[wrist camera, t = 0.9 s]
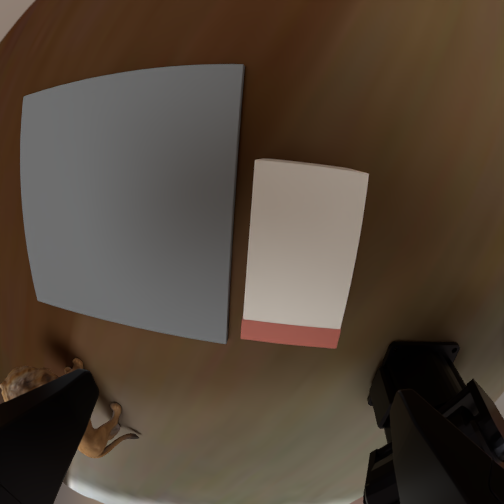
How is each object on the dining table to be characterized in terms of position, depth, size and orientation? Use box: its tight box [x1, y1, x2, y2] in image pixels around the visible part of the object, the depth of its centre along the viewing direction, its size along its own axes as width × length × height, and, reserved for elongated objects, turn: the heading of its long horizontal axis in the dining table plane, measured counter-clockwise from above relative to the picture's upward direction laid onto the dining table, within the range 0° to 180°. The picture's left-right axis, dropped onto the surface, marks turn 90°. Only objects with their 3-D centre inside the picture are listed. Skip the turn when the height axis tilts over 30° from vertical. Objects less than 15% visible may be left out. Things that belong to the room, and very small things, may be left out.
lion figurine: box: [0, 358, 139, 458], centre depth 22 cm, size 15×5×9 cm, turn 37°
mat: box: [20, 64, 245, 344], centre depth 19 cm, size 18×18×1 cm
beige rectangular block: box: [241, 158, 369, 348], centre depth 16 cm, size 5×9×5 cm, turn 176°
